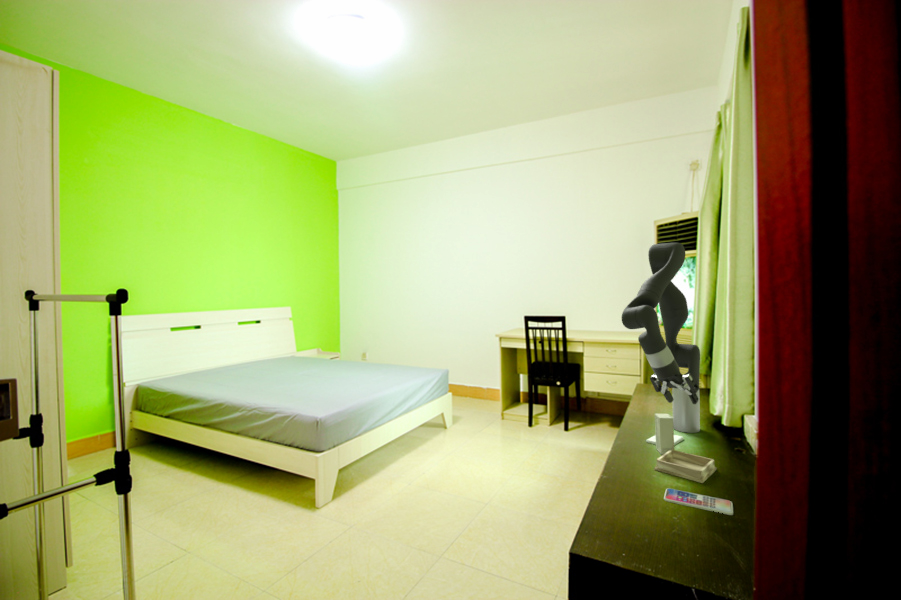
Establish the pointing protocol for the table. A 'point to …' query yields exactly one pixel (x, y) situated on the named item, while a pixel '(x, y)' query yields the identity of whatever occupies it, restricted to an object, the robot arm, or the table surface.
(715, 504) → the smartphone
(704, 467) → the wooden tray
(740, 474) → the table surface
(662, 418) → the skincare box
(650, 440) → the external hard drive
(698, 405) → the robot arm
